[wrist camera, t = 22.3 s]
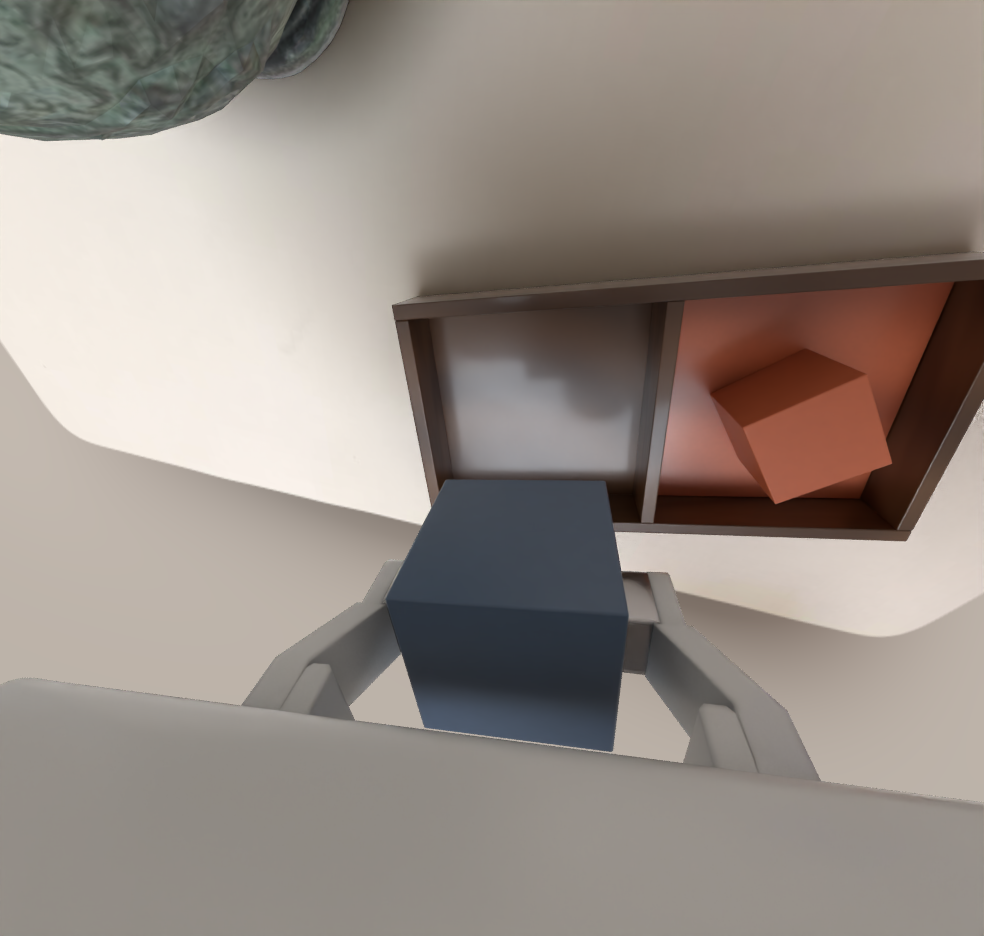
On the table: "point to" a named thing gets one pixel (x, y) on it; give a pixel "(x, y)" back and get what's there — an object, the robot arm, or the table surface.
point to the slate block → (515, 612)
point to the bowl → (145, 60)
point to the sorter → (697, 387)
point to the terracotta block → (803, 424)
